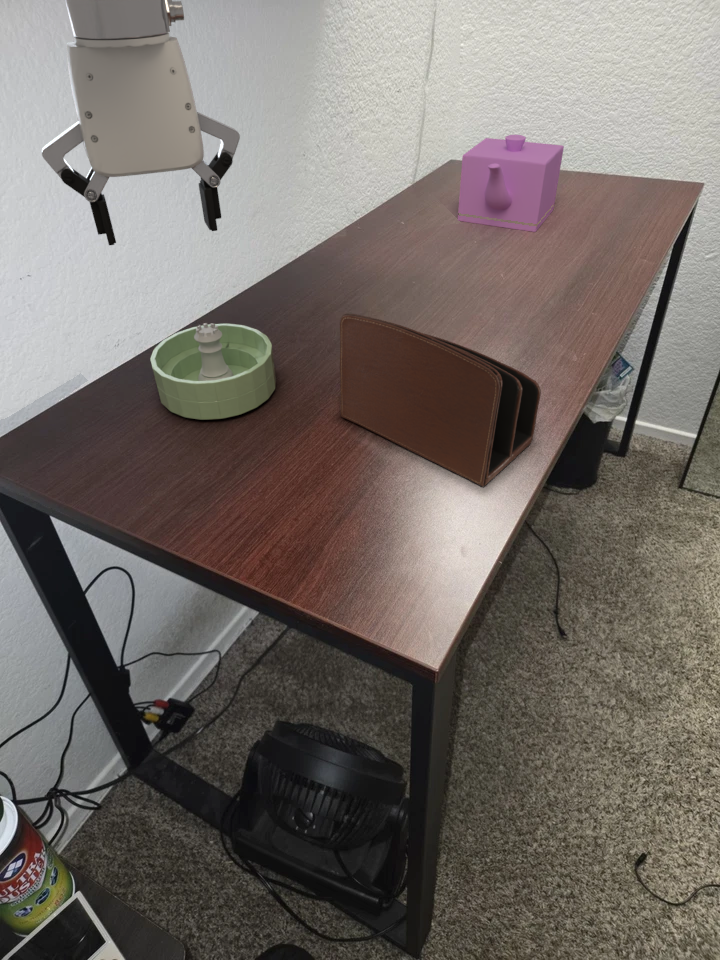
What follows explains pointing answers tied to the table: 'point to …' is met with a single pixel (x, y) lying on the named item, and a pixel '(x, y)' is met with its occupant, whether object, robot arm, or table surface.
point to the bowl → (214, 398)
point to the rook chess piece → (211, 354)
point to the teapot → (509, 182)
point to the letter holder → (435, 397)
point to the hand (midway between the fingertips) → (162, 233)
